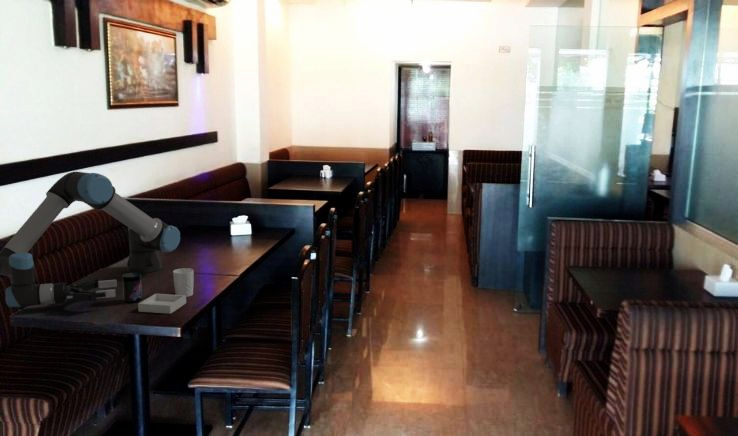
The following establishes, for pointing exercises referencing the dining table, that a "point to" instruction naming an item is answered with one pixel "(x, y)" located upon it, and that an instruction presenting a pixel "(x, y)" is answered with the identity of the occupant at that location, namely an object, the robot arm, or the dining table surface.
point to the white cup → (183, 281)
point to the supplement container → (132, 287)
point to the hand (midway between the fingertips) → (116, 288)
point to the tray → (162, 303)
